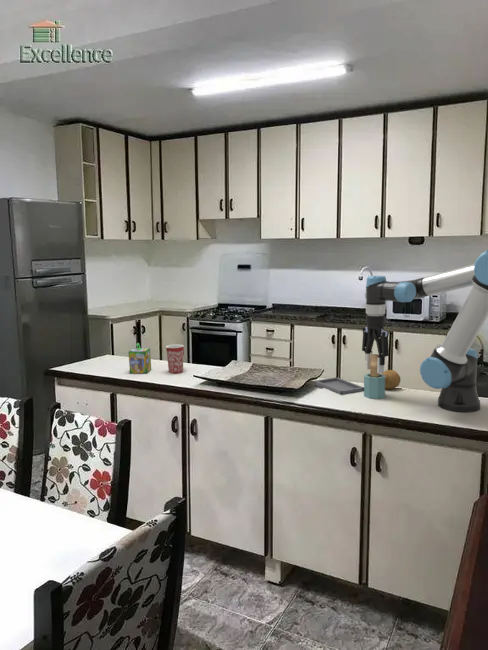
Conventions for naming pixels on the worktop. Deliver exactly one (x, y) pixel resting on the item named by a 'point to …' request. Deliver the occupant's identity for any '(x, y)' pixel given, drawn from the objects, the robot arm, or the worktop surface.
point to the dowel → (373, 365)
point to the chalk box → (139, 360)
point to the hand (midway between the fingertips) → (374, 370)
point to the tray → (338, 386)
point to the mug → (175, 358)
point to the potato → (391, 379)
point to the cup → (374, 386)
